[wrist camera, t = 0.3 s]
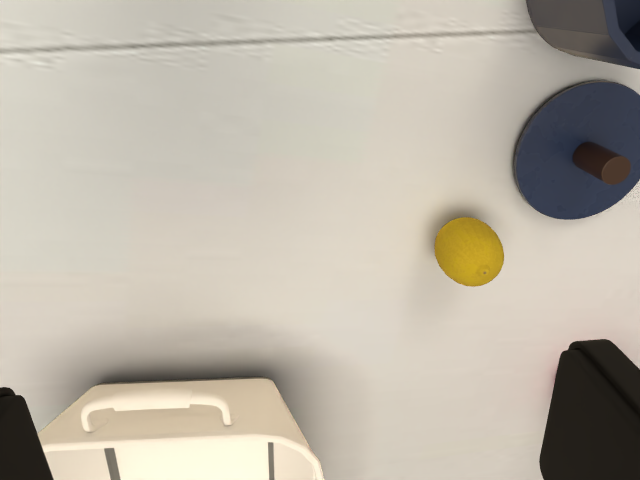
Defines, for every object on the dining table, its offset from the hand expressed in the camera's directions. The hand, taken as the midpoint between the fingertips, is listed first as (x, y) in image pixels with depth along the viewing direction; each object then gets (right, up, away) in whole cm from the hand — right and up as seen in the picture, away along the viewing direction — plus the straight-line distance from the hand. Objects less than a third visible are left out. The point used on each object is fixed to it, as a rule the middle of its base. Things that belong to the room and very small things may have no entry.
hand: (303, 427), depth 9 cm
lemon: (+13, +4, +39) cm, 42 cm away
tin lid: (+24, +11, +36) cm, 45 cm away
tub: (-14, -19, +48) cm, 53 cm away
